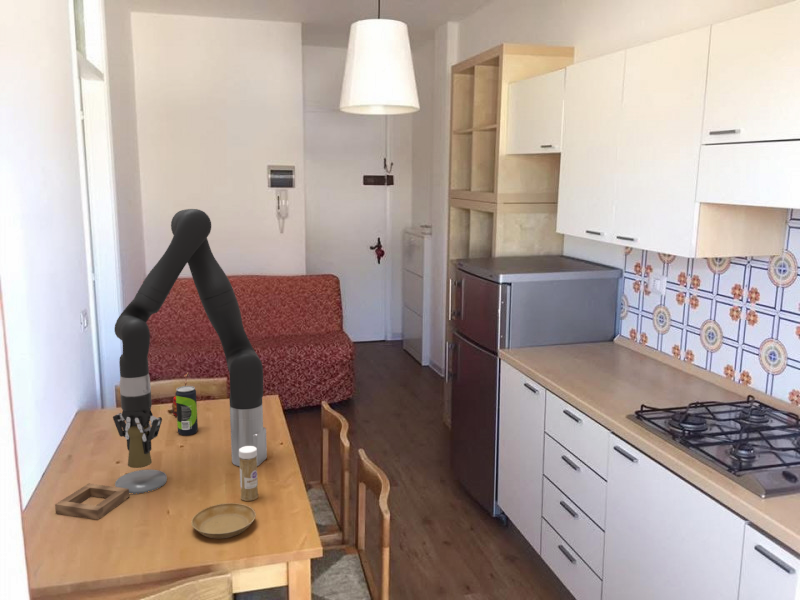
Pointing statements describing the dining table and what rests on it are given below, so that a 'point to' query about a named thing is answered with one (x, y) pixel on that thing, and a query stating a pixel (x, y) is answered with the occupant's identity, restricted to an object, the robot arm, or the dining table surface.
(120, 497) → the holder board
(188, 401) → the beverage can
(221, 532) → the plant saucer
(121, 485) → the slate coaster
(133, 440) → the cork
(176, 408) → the red clay folk toy
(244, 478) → the sprinkles bottle
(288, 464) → the dining table surface
